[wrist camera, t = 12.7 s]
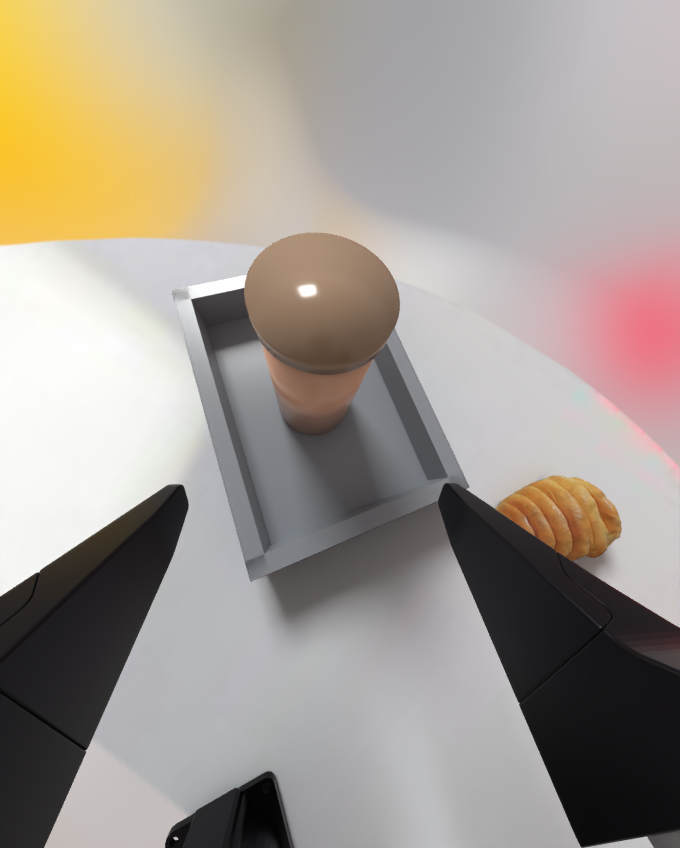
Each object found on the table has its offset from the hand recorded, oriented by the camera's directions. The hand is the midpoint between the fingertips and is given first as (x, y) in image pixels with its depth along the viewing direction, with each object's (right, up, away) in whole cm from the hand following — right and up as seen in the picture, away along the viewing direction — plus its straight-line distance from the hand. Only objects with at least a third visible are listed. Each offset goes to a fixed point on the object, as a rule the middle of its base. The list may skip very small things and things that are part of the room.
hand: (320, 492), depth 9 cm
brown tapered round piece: (-2, +4, +14) cm, 15 cm away
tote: (-2, +4, +15) cm, 16 cm away
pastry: (+19, -6, +15) cm, 25 cm away
